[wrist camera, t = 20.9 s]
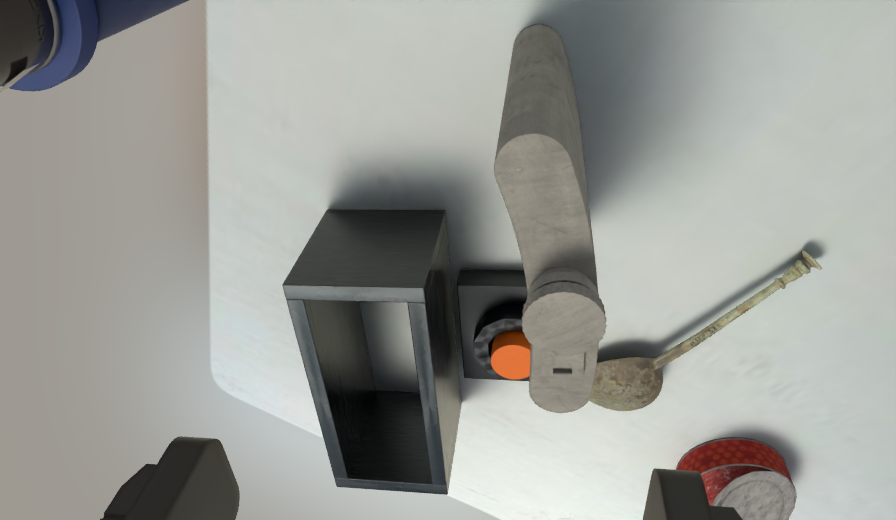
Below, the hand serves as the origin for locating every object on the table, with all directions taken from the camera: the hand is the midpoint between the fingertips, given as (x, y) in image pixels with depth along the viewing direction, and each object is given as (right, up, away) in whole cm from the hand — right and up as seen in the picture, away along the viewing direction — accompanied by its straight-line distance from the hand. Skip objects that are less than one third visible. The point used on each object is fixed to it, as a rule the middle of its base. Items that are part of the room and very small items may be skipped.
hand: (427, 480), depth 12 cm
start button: (+6, -3, +38) cm, 38 cm away
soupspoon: (+20, -2, +39) cm, 44 cm away
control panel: (+6, -1, +41) cm, 41 cm away
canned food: (+27, -16, +48) cm, 57 cm away
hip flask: (+8, +12, +32) cm, 35 cm away
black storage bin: (-4, -1, +42) cm, 43 cm away
